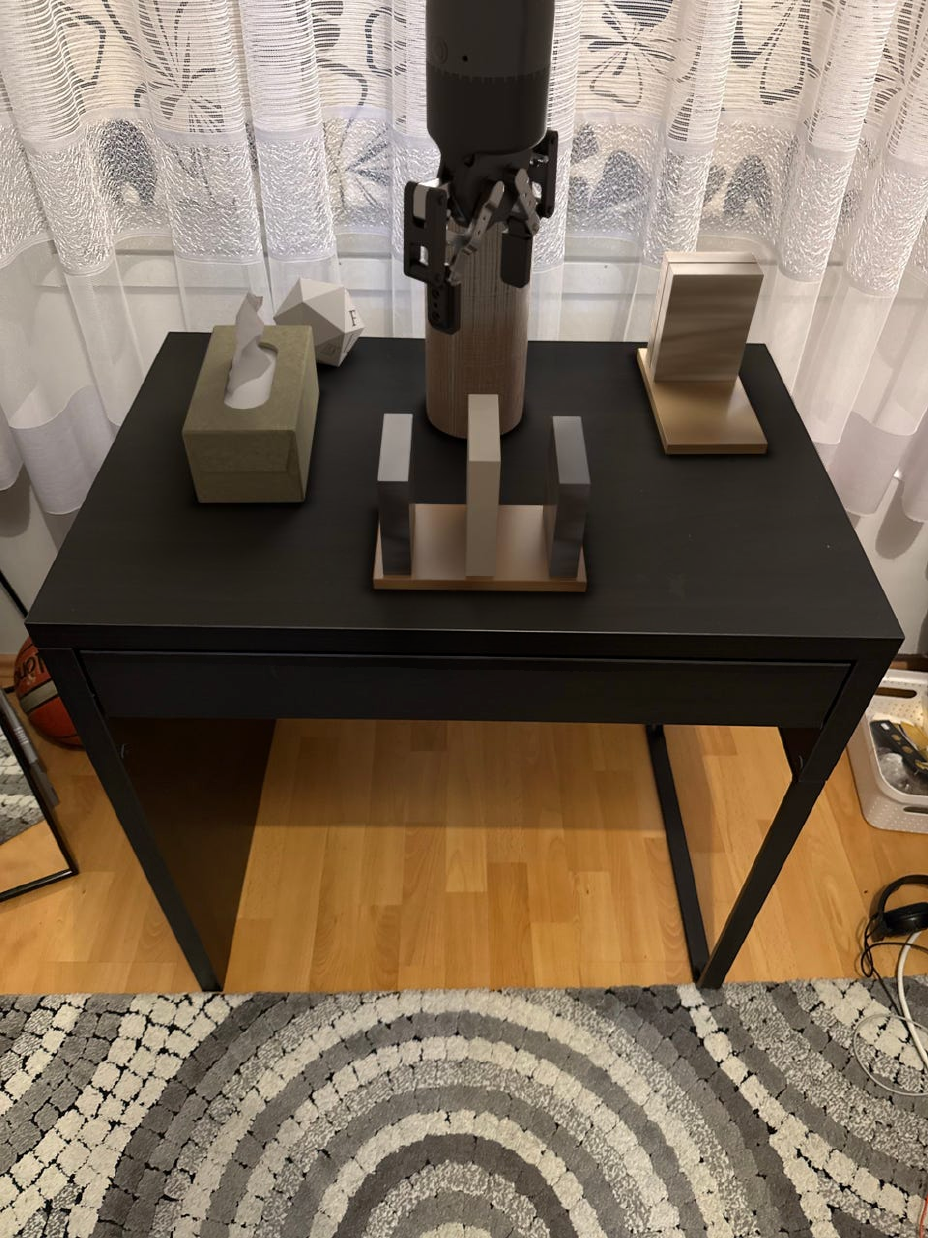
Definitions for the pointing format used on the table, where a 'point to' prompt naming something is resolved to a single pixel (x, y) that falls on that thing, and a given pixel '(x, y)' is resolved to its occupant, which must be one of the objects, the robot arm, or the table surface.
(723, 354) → the cream book rack
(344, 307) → the die
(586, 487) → the grey book rack
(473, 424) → the cream book
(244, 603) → the table surface
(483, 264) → the planter
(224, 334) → the tissue box
